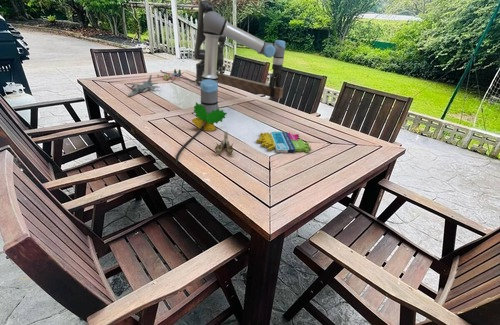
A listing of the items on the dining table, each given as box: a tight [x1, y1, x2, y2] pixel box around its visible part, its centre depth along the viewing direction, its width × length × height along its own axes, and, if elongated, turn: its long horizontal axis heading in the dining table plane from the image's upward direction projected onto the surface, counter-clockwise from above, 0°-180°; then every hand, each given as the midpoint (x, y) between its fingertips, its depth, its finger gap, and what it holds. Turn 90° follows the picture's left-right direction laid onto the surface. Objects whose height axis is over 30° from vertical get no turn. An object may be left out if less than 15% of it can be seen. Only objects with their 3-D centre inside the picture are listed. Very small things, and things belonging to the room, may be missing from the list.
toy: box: [155, 68, 182, 81], centre depth 281 cm, size 28×7×30 cm
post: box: [216, 72, 284, 100], centre depth 213 cm, size 71×5×7 cm, turn 51°
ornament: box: [191, 102, 228, 132], centre depth 162 cm, size 21×8×15 cm, turn 105°
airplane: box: [127, 74, 159, 97], centre depth 228 cm, size 38×32×10 cm
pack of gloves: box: [256, 131, 312, 154], centre depth 152 cm, size 26×2×30 cm
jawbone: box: [214, 131, 234, 156], centre depth 136 cm, size 9×15×10 cm
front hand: (273, 95), depth 200 cm, fingers closed on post, 5 cm apart
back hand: (218, 78), depth 229 cm, fingers closed on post, 5 cm apart
